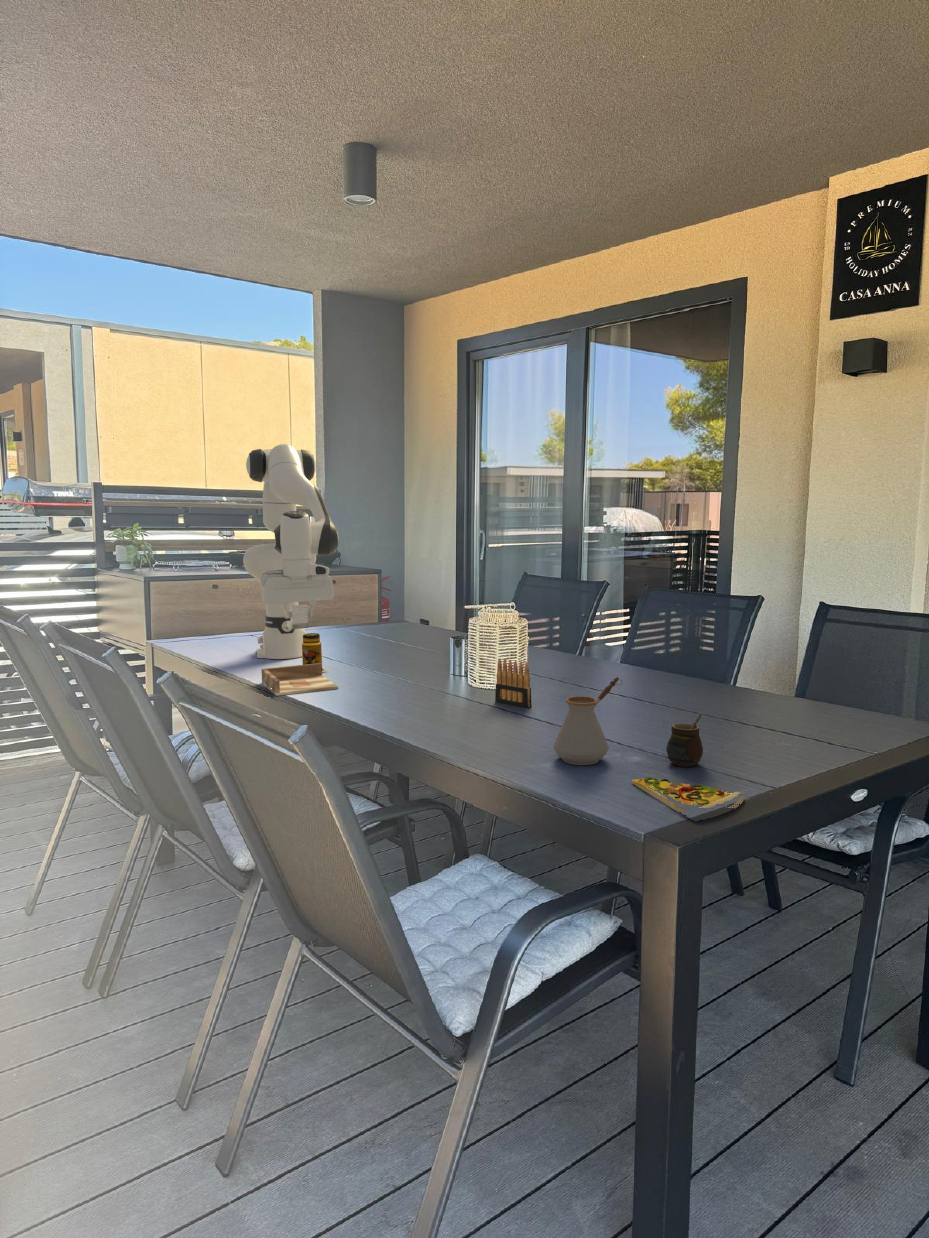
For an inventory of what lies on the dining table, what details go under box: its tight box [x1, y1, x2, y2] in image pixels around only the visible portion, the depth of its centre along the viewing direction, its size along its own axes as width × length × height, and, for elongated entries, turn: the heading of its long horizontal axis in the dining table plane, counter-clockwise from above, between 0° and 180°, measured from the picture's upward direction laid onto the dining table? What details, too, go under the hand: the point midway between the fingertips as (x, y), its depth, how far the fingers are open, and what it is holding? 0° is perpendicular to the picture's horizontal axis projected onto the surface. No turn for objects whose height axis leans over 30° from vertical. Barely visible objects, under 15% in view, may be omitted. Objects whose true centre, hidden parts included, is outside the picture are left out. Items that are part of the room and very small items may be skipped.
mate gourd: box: [665, 713, 704, 768], centre depth 173 cm, size 7×8×10 cm
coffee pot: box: [553, 676, 624, 766], centre depth 180 cm, size 21×12×15 cm, turn 140°
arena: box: [260, 663, 339, 697], centre depth 247 cm, size 18×18×4 cm
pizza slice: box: [631, 776, 745, 813], centre depth 155 cm, size 16×21×3 cm
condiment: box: [301, 632, 328, 673], centre depth 267 cm, size 7×8×12 cm
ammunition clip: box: [494, 657, 533, 709], centre depth 222 cm, size 11×2×12 cm, turn 51°
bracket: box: [287, 604, 309, 629], centre depth 244 cm, size 7×4×6 cm, turn 25°
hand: (299, 617), depth 241 cm, fingers closed on bracket, 4 cm apart
